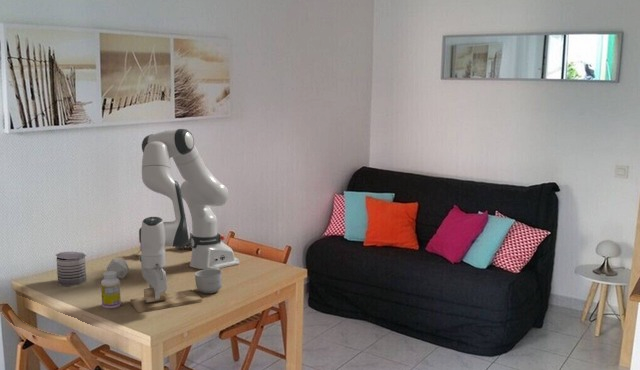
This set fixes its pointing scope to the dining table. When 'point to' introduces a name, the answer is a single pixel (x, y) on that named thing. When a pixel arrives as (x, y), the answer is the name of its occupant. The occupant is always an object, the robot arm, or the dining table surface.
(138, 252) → the lily
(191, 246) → the mineral specimen
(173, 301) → the board
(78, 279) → the can
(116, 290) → the supplement bottle
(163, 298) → the block
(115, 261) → the die
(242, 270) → the dining table surface
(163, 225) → the robot arm
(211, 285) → the teacup
